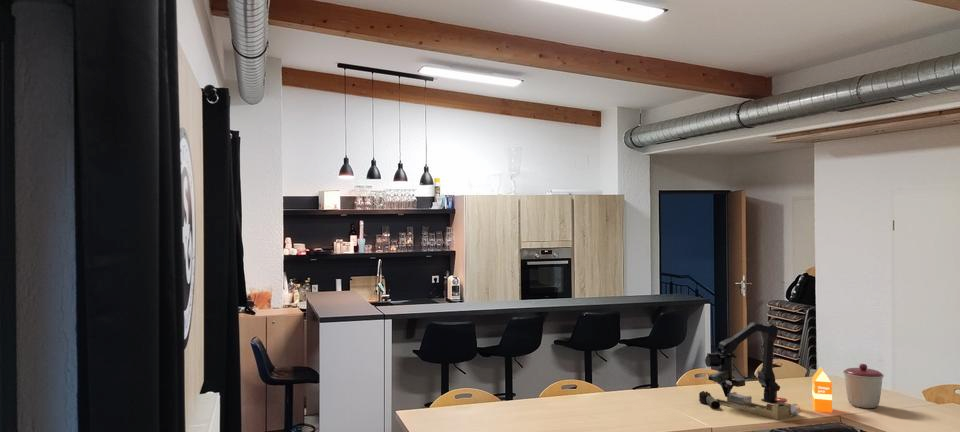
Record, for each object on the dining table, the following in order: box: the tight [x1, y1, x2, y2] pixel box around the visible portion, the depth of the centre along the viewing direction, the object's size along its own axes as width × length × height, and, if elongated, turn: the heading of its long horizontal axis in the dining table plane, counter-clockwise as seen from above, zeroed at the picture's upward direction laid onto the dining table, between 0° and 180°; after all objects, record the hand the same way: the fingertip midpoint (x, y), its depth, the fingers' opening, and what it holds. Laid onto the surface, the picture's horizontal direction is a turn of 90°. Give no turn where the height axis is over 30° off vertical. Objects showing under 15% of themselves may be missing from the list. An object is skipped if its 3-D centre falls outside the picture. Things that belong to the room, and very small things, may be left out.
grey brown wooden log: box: [698, 390, 722, 410], centre depth 344 cm, size 18×7×6 cm, turn 0°
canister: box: [842, 363, 885, 409], centre depth 342 cm, size 18×18×21 cm
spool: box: [726, 391, 753, 407], centre depth 341 cm, size 6×10×6 cm, turn 31°
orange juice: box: [811, 366, 833, 413], centre depth 335 cm, size 8×9×20 cm
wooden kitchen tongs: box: [716, 397, 801, 421], centre depth 335 cm, size 16×36×9 cm, turn 31°
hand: (726, 396), depth 347 cm, fingers closed
